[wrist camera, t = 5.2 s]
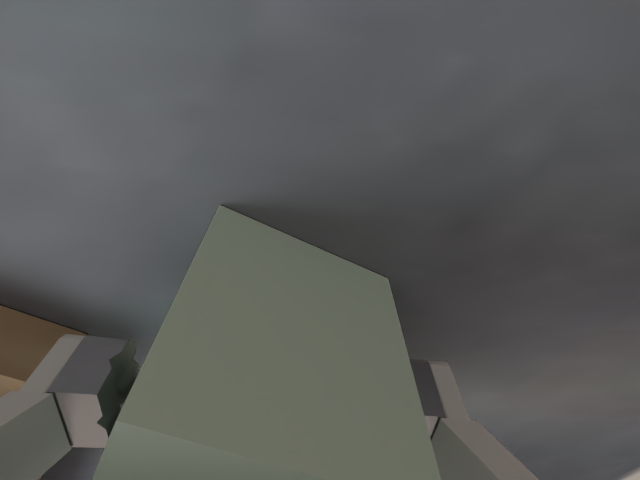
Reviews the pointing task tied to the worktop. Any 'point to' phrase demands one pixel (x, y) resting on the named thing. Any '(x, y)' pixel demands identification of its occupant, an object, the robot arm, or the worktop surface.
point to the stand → (24, 346)
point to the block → (273, 372)
